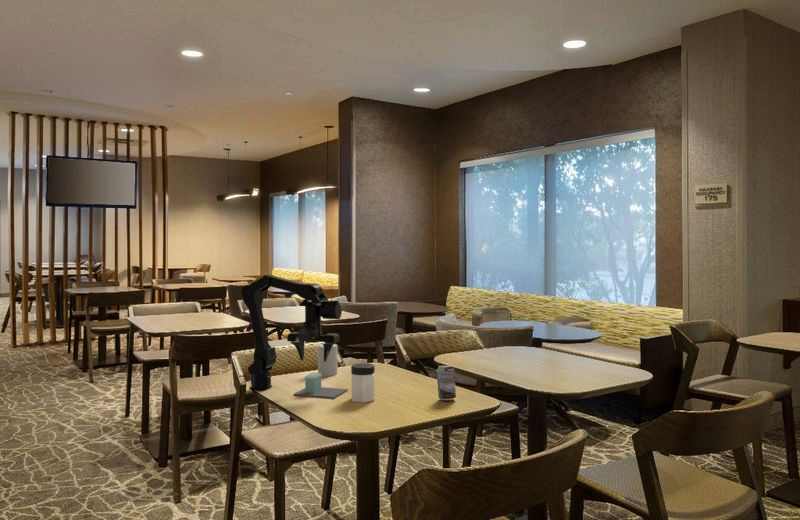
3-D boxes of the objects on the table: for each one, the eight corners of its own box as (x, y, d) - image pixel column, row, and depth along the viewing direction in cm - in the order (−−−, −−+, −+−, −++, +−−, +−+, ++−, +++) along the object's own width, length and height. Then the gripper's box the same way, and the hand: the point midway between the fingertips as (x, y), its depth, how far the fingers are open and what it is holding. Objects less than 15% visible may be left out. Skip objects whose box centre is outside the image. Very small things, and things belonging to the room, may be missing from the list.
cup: (341, 373, 254) (341, 344, 254) (329, 377, 248) (328, 347, 247) (326, 371, 259) (326, 343, 258) (313, 374, 252) (313, 346, 252)
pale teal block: (305, 392, 220) (305, 376, 220) (312, 388, 226) (312, 372, 226) (314, 393, 219) (314, 376, 219) (321, 389, 225) (321, 373, 224)
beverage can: (444, 403, 206) (444, 368, 206) (433, 398, 213) (433, 364, 212) (459, 401, 209) (459, 366, 209) (448, 396, 216) (448, 362, 215)
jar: (357, 404, 206) (357, 369, 206) (346, 399, 213) (346, 365, 213) (380, 400, 211) (379, 365, 211) (368, 395, 218) (368, 362, 217)
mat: (293, 395, 218) (293, 393, 218) (308, 387, 229) (308, 386, 229) (334, 398, 213) (334, 397, 213) (347, 390, 225) (347, 389, 225)
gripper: (279, 320, 217) (280, 363, 217) (327, 322, 211) (327, 366, 211) (294, 316, 227) (294, 358, 228) (340, 318, 221) (340, 360, 222)
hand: (313, 360), depth 222 cm, fingers open, 9 cm apart
